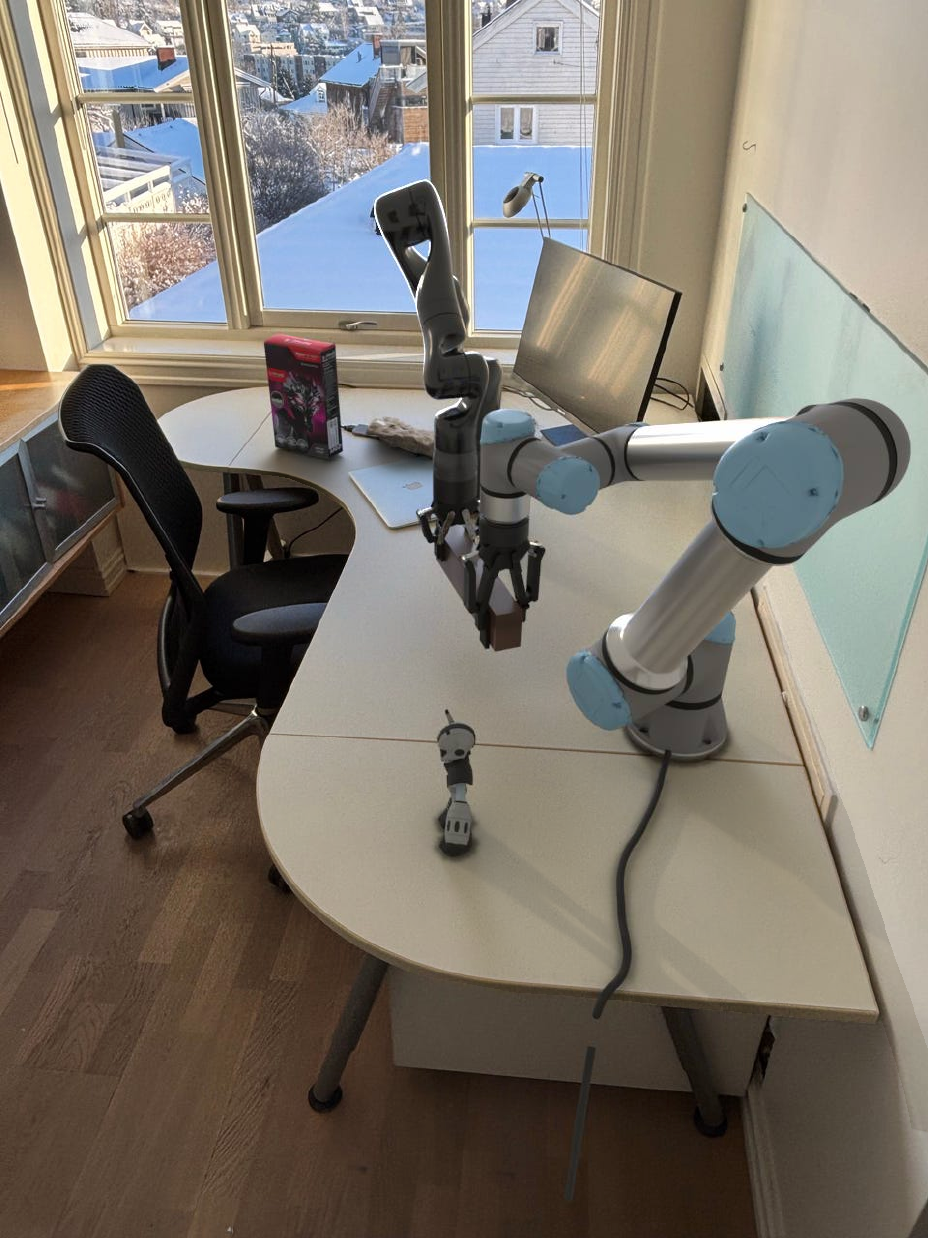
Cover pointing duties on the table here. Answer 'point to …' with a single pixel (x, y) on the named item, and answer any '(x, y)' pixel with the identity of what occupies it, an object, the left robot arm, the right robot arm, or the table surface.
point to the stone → (402, 435)
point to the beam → (501, 601)
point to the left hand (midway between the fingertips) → (454, 557)
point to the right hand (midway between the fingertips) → (499, 641)
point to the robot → (456, 785)
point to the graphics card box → (304, 395)
